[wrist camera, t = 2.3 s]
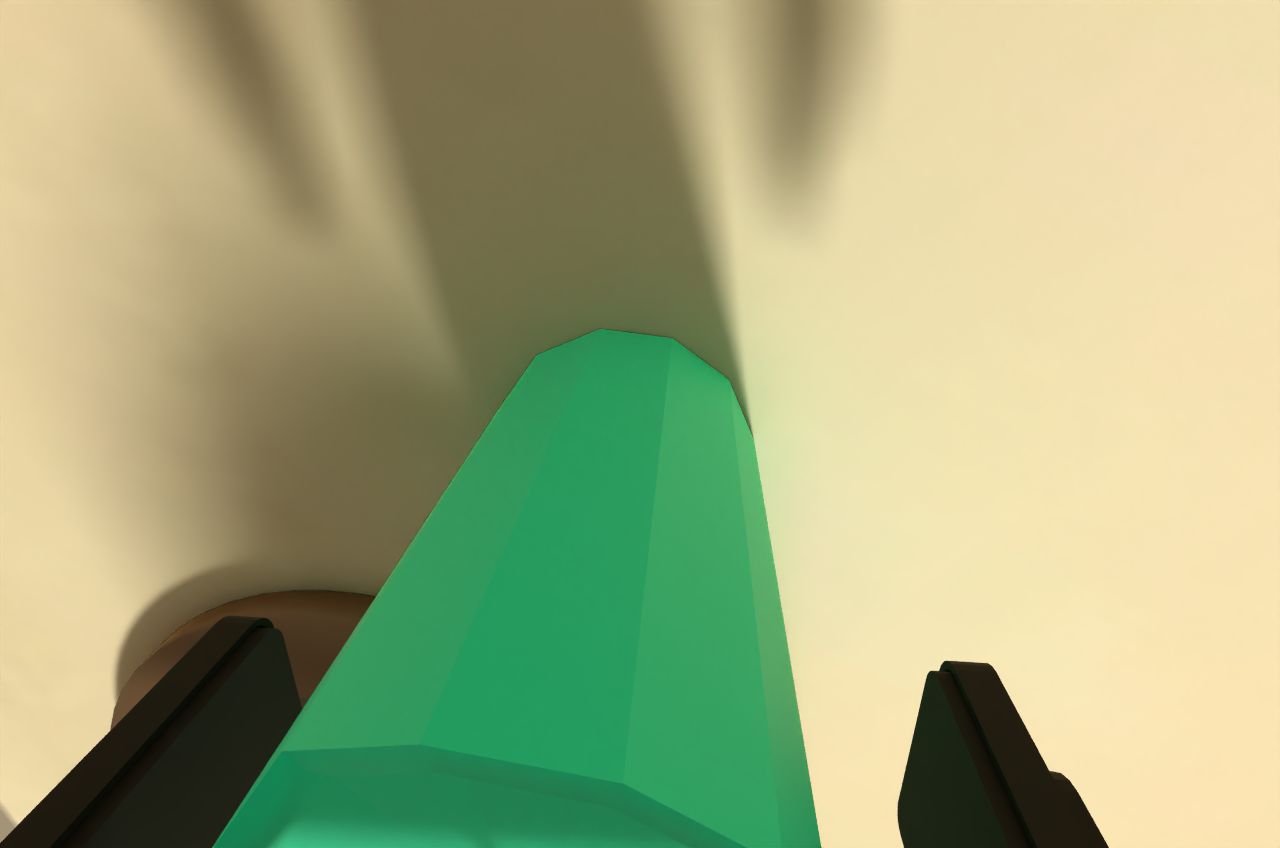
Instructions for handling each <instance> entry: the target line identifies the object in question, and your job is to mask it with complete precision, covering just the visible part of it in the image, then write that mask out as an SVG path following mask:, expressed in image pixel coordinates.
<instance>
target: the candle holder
mask: <svg viewBox="0 0 1280 848" xmlns="http://www.w3.org/2000/svg"><path fill="white" fill-rule="evenodd" d="M374 599H375V597H372V596H367V595H362V594H353V593H343V592H333V591H287V592H279V593H270V594H262V595H257V596H253V597H249V598H245V599H241V600H237V601H233V602H229V603H227V604H224V605H222V606H219V607H217V608H214V609H212V610H209V611H207V612H204V613H202V614H201V615H199V616H198V617H196V618H194V619H193V620H191V621H189V622H188V623H186V624H184V625H183V626H181V627H180V628H179V629H178V630H177V631H176V632H174V633H173V634H172V635H171V636H170V637H169V638H168V639H167V640H166V641H164V642H163V643H162V644H161V645H160V646H159V647H158V648H157V649H156V650H155V651H154V652H153V653H152V654H151V655H150V656H149V657H148V659H147V660H146V661H145V662H144V663H143V664H142V665H141V666H140V667H139V668H138V669H137V670H136V671H135V673H134V674H133V675H132V677H131V678H130V679H129V681H128V682H127V683H126V685H125V686H124V688H123V690H122V692H121V694H120V697H119V699H118V701H117V703H116V706H115V708H114V713H113V719H112V724H111V730H112V729H113V728H114V727H115V726H116V724H117V723H118V722H119V721H120V720H121V719H122V718H123V717H124V716H125V715H126V714H127V713H128V712H129V711H130V710H131V709H132V708H133V707H134V706H135V705H136V704H137V703H138V702H139V701H140V700H141V699H142V698H143V697H144V696H145V695H146V694H147V693H148V692H149V691H150V690H151V689H152V688H153V687H154V686H155V685H156V684H157V683H158V682H159V681H160V680H161V679H162V678H163V677H164V676H165V675H166V673H167V672H168V671H169V670H170V669H171V668H172V667H173V666H174V665H175V664H176V663H177V662H178V661H179V660H180V659H181V658H182V657H183V656H184V655H185V654H186V653H187V652H188V651H189V650H190V649H191V648H192V647H193V646H194V645H195V644H196V643H197V642H198V641H199V640H200V639H201V638H202V637H203V636H204V635H205V634H206V633H207V632H208V631H209V630H210V629H211V628H212V627H213V626H214V625H215V624H216V623H217V622H218V621H219V620H220V619H222V618H223V617H226V616H244V617H260V618H268V619H269V620H270V621H271V622H272V623H273V626H274V628H275V629H279V630H280V631H281V632H282V634H283V637H284V641H285V645H286V648H287V652H288V656H289V660H290V664H291V668H292V671H293V675H294V679H295V683H296V687H297V690H298V694H299V698H300V702H301V706H302V709H303V708H304V706H305V705H306V703H307V702H308V700H309V699H310V697H311V695H312V694H313V692H314V691H315V689H316V688H317V686H318V685H319V683H320V682H321V680H322V679H323V677H324V676H325V674H326V672H327V671H328V669H329V668H330V666H331V665H332V663H333V662H334V660H335V659H336V657H337V656H338V654H339V653H340V651H341V650H342V648H343V646H344V645H345V643H346V642H347V640H348V639H349V637H350V636H351V634H352V633H353V631H354V630H355V628H356V627H357V625H358V623H359V622H360V620H361V619H362V617H363V616H364V614H365V613H366V611H367V610H368V608H369V607H370V605H371V604H372V602H373V600H374Z"/></svg>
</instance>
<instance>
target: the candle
mask: <svg viewBox="0 0 1280 848" xmlns="http://www.w3.org/2000/svg"><path fill="white" fill-rule="evenodd" d="M212 848H821V844H820V838H819V831H818V825H817V819H816V813H815V807H814V801H813V795H812V789H811V783H810V777H809V771H808V765H807V759H806V753H805V747H804V741H803V735H802V729H801V723H800V717H799V711H798V705H797V698H796V692H795V686H794V680H793V674H792V668H791V662H790V656H789V650H788V644H787V638H786V632H785V626H784V620H783V614H782V608H781V602H780V596H779V590H778V584H777V578H776V571H775V565H774V559H773V553H772V547H771V541H770V535H769V529H768V523H767V517H766V511H765V505H764V499H763V493H762V487H761V481H760V475H759V469H758V463H757V457H756V451H755V445H754V439H753V436H752V434H751V432H750V429H749V427H748V424H747V422H746V419H745V417H744V415H743V412H742V410H741V407H740V405H739V402H738V400H737V398H736V395H735V393H734V390H733V388H732V386H731V383H730V381H729V379H728V378H726V377H725V376H723V375H722V374H721V373H719V372H718V371H717V370H715V369H714V368H713V367H711V366H710V365H708V364H707V363H706V362H704V361H703V360H702V359H700V358H699V357H698V356H696V355H695V354H693V353H692V352H691V351H689V350H688V349H687V348H685V347H684V346H683V345H681V344H680V343H678V342H677V341H676V340H674V339H673V338H669V337H661V336H653V335H645V334H637V333H629V332H622V331H614V330H606V329H598V330H596V331H593V332H591V333H589V334H586V335H584V336H581V337H579V338H576V339H574V340H572V341H569V342H567V343H564V344H562V345H559V346H557V347H555V348H552V349H550V350H547V351H545V352H542V353H540V354H538V355H536V356H535V358H534V359H533V361H532V362H531V363H530V365H529V366H528V368H527V369H526V370H525V372H524V373H523V375H522V376H521V378H520V379H519V380H518V382H517V383H516V385H515V386H514V387H513V389H512V390H511V392H510V393H509V395H508V396H507V397H506V399H505V400H504V402H503V403H502V405H501V406H500V407H499V409H498V411H497V412H496V414H495V415H494V417H493V418H492V420H491V421H490V423H489V424H488V426H487V427H486V429H485V430H484V432H483V434H482V435H481V437H480V438H479V440H478V441H477V443H476V444H475V446H474V447H473V449H472V450H471V452H470V453H469V455H468V456H467V458H466V460H465V461H464V463H463V464H462V466H461V467H460V469H459V470H458V472H457V473H456V475H455V476H454V478H453V479H452V481H451V483H450V484H449V486H448V487H447V489H446V490H445V492H444V493H443V495H442V496H441V498H440V499H439V501H438V502H437V504H436V506H435V507H434V509H433V510H432V512H431V513H430V515H429V516H428V518H427V519H426V521H425V522H424V524H423V525H422V527H421V528H420V530H419V532H418V533H417V535H416V536H415V538H414V539H413V541H412V542H411V544H410V545H409V547H408V548H407V550H406V551H405V553H404V555H403V556H402V558H401V559H400V561H399V562H398V564H397V565H396V567H395V568H394V570H393V571H392V573H391V574H390V576H389V578H388V579H387V581H386V582H385V584H384V585H383V587H382V588H381V590H380V591H379V593H378V594H377V596H376V597H375V599H374V600H373V602H372V604H371V605H370V607H369V608H368V610H367V611H366V613H365V614H364V616H363V617H362V619H361V620H360V622H359V623H358V625H357V627H356V628H355V630H354V631H353V633H352V634H351V636H350V637H349V639H348V640H347V642H346V643H345V645H344V646H343V648H342V650H341V651H340V653H339V654H338V656H337V657H336V659H335V660H334V662H333V663H332V665H331V666H330V668H329V669H328V671H327V672H326V674H325V676H324V677H323V679H322V680H321V682H320V683H319V685H318V686H317V688H316V689H315V691H314V692H313V694H312V695H311V697H310V699H309V700H308V702H307V703H306V705H305V706H304V708H303V709H302V711H301V712H300V714H299V715H298V717H297V718H296V720H295V722H294V723H293V725H292V726H291V728H290V729H289V731H288V732H287V734H286V735H285V737H284V738H283V740H282V741H281V743H280V744H279V746H278V748H277V749H276V751H275V752H274V754H273V755H272V757H271V758H270V760H269V761H268V763H267V764H266V766H265V767H264V769H263V771H262V772H261V774H260V775H259V777H258V778H257V780H256V781H255V783H254V784H253V786H252V787H251V789H250V790H249V792H248V794H247V795H246V797H245V798H244V800H243V801H242V803H241V804H240V806H239V807H238V809H237V810H236V812H235V813H234V815H233V816H232V818H231V820H230V821H229V823H228V824H227V826H226V827H225V829H224V830H223V832H222V833H221V835H220V836H219V838H218V839H217V841H216V843H215V844H214V846H213V847H212Z"/></svg>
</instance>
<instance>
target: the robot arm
mask: <svg viewBox="0 0 1280 848" xmlns="http://www.w3.org/2000/svg"><path fill="white" fill-rule="evenodd" d="M301 711H302V706H301V702H300V698H299V694H298V690H297V687H296V683H295V679H294V675H293V671H292V668H291V664H290V660H289V656H288V652H287V648H286V645H285V641H284V637H283V634H282V632H281V631H280V630H279V629H275V628H274V626H273V623H272V622H271V621H270V620H269V619H268V618H260V617H244V616H226V617H223V618H222V619H220V620H219V621H218V622H217V623H216V624H215V625H214V626H213V627H212V628H211V629H210V630H209V631H208V632H207V633H206V634H205V635H204V636H203V637H202V638H201V639H200V640H199V641H198V642H197V643H196V644H195V645H194V646H193V647H192V648H191V649H190V650H189V651H188V652H187V653H186V654H185V655H184V656H183V657H182V658H181V659H180V660H179V661H178V662H177V663H176V664H175V665H174V666H173V667H172V668H171V669H170V670H169V671H168V672H167V673H166V675H165V676H164V677H163V678H162V679H161V680H160V681H159V682H158V683H157V684H156V685H155V686H154V687H153V688H152V689H151V690H150V691H149V692H148V693H147V694H146V695H145V696H144V697H143V698H142V699H141V700H140V701H139V702H138V703H137V704H136V705H135V706H134V707H133V708H132V709H131V710H130V711H129V712H128V713H127V714H126V715H125V716H124V717H123V718H122V719H121V720H120V721H119V722H118V723H117V724H116V726H115V727H114V728H113V729H112V730H111V731H110V732H109V733H108V734H107V735H106V736H105V737H104V738H103V739H102V740H101V741H100V742H99V743H98V744H97V745H96V746H95V747H94V748H93V749H92V750H91V751H90V752H89V753H88V754H87V755H86V756H85V757H84V758H83V759H82V760H81V761H80V762H79V763H78V764H77V765H76V766H75V767H74V768H73V769H72V770H71V771H70V772H69V773H68V774H67V775H66V777H65V778H64V779H63V780H62V781H61V782H60V783H59V784H58V785H57V786H56V787H55V788H54V789H53V790H52V791H51V792H50V793H49V794H48V795H47V796H46V797H45V798H44V799H43V800H42V801H41V802H40V803H39V804H38V805H37V806H36V807H35V808H34V809H33V810H32V811H31V812H30V813H29V814H28V815H27V816H26V817H25V818H24V819H23V820H22V821H21V822H20V823H19V824H18V825H17V826H16V828H15V829H14V830H13V831H12V832H11V833H10V834H9V835H8V836H7V837H6V838H5V839H4V840H3V841H2V842H1V843H0V848H212V847H213V846H214V844H215V843H216V841H217V839H218V838H219V836H220V835H221V833H222V832H223V830H224V829H225V827H226V826H227V824H228V823H229V821H230V820H231V818H232V816H233V815H234V813H235V812H236V810H237V809H238V807H239V806H240V804H241V803H242V801H243V800H244V798H245V797H246V795H247V794H248V792H249V790H250V789H251V787H252V786H253V784H254V783H255V781H256V780H257V778H258V777H259V775H260V774H261V772H262V771H263V769H264V767H265V766H266V764H267V763H268V761H269V760H270V758H271V757H272V755H273V754H274V752H275V751H276V749H277V748H278V746H279V744H280V743H281V741H282V740H283V738H284V737H285V735H286V734H287V732H288V731H289V729H290V728H291V726H292V725H293V723H294V722H295V720H296V718H297V717H298V715H299V714H300V712H301ZM898 824H899V830H900V834H901V838H902V841H903V845H904V848H1109V847H1108V845H1107V843H1106V842H1105V840H1104V838H1103V836H1102V834H1101V833H1100V831H1099V829H1098V827H1097V826H1096V824H1095V822H1094V820H1093V818H1092V817H1091V815H1090V813H1089V811H1088V810H1087V808H1086V806H1085V804H1084V802H1083V801H1082V799H1081V797H1080V795H1079V793H1078V792H1077V790H1076V789H1075V788H1074V786H1073V785H1072V783H1071V782H1070V780H1068V779H1067V778H1066V777H1065V776H1064V775H1062V774H1061V773H1058V772H1053V771H1049V770H1048V768H1047V766H1046V764H1045V762H1044V760H1043V758H1042V757H1041V755H1040V753H1039V751H1038V749H1037V747H1036V745H1035V743H1034V742H1033V740H1032V738H1031V736H1030V734H1029V732H1028V730H1027V729H1026V727H1025V725H1024V723H1023V721H1022V719H1021V717H1020V715H1019V714H1018V712H1017V710H1016V708H1015V706H1014V704H1013V702H1012V701H1011V699H1010V697H1009V695H1008V693H1007V691H1006V689H1005V687H1004V686H1003V684H1002V682H1001V680H1000V678H999V676H998V674H997V673H996V671H995V670H994V668H993V667H992V666H991V665H990V664H988V663H974V662H958V661H944V662H943V663H942V665H941V667H940V670H939V671H930V672H929V673H928V675H927V678H926V682H925V686H924V691H923V695H922V700H921V704H920V708H919V713H918V717H917V722H916V726H915V730H914V735H913V739H912V744H911V748H910V752H909V757H908V761H907V766H906V770H905V774H904V779H903V783H902V788H901V792H900V796H899V801H898Z"/></svg>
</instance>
